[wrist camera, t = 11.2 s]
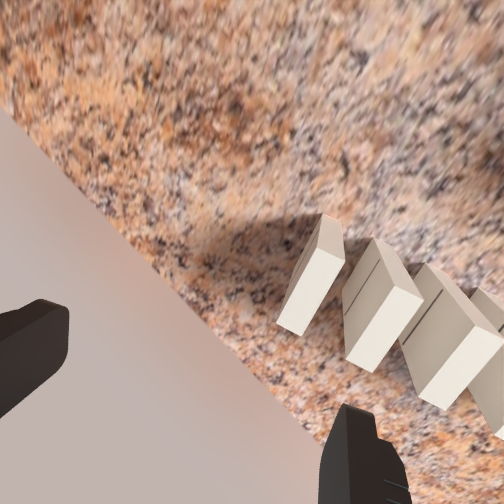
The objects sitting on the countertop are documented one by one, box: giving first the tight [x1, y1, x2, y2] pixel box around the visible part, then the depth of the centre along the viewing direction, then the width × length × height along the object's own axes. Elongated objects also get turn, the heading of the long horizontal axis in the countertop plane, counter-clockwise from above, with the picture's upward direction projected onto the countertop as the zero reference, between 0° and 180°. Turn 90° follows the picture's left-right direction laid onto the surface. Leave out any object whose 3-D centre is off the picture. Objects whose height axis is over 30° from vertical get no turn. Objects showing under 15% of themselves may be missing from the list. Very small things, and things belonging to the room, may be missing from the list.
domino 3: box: [398, 263, 504, 411], centre depth 22 cm, size 2×5×10 cm, turn 156°
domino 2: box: [342, 237, 424, 373], centre depth 23 cm, size 2×5×10 cm, turn 156°
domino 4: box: [467, 287, 504, 440], centre depth 22 cm, size 2×5×10 cm, turn 157°
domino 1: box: [276, 213, 345, 336], centre depth 23 cm, size 2×5×10 cm, turn 156°
